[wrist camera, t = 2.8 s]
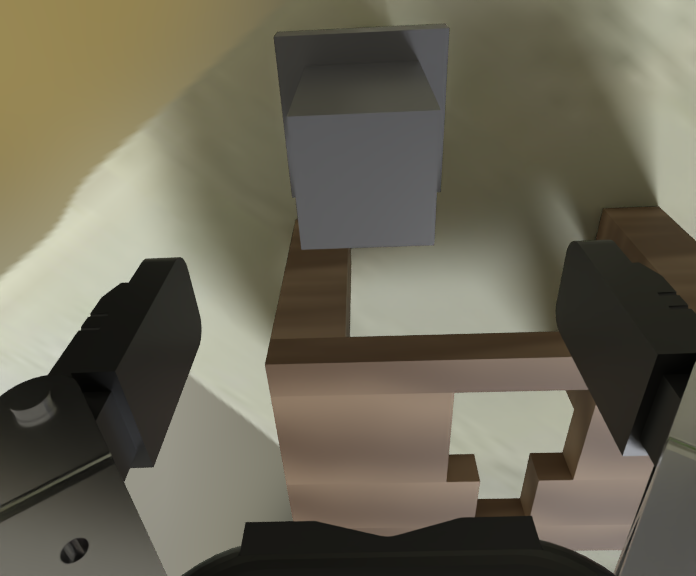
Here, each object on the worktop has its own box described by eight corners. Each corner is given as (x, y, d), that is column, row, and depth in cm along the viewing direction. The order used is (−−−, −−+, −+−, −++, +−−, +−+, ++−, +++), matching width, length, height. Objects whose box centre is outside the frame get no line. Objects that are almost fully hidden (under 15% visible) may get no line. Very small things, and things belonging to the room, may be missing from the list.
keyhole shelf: (295, 219, 30) (264, 364, 20) (658, 206, 29) (813, 350, 19) (314, 386, 37) (299, 553, 27) (605, 379, 37) (698, 549, 27)
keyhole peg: (293, 9, 24) (242, 78, 13) (427, 3, 24) (483, 67, 13) (306, 140, 28) (272, 278, 17) (423, 135, 27) (465, 272, 17)
